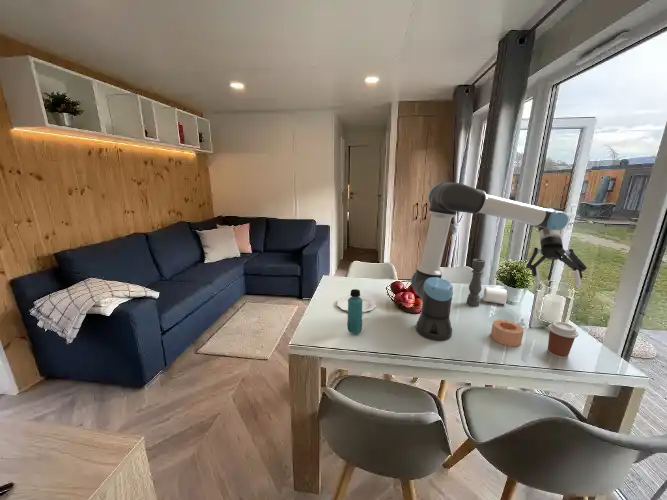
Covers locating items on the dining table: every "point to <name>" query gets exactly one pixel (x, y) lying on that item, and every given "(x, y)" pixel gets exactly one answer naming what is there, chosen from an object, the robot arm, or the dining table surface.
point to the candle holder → (475, 283)
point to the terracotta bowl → (507, 332)
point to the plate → (370, 301)
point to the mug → (495, 295)
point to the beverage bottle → (355, 312)
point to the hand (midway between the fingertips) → (558, 284)
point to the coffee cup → (561, 339)
